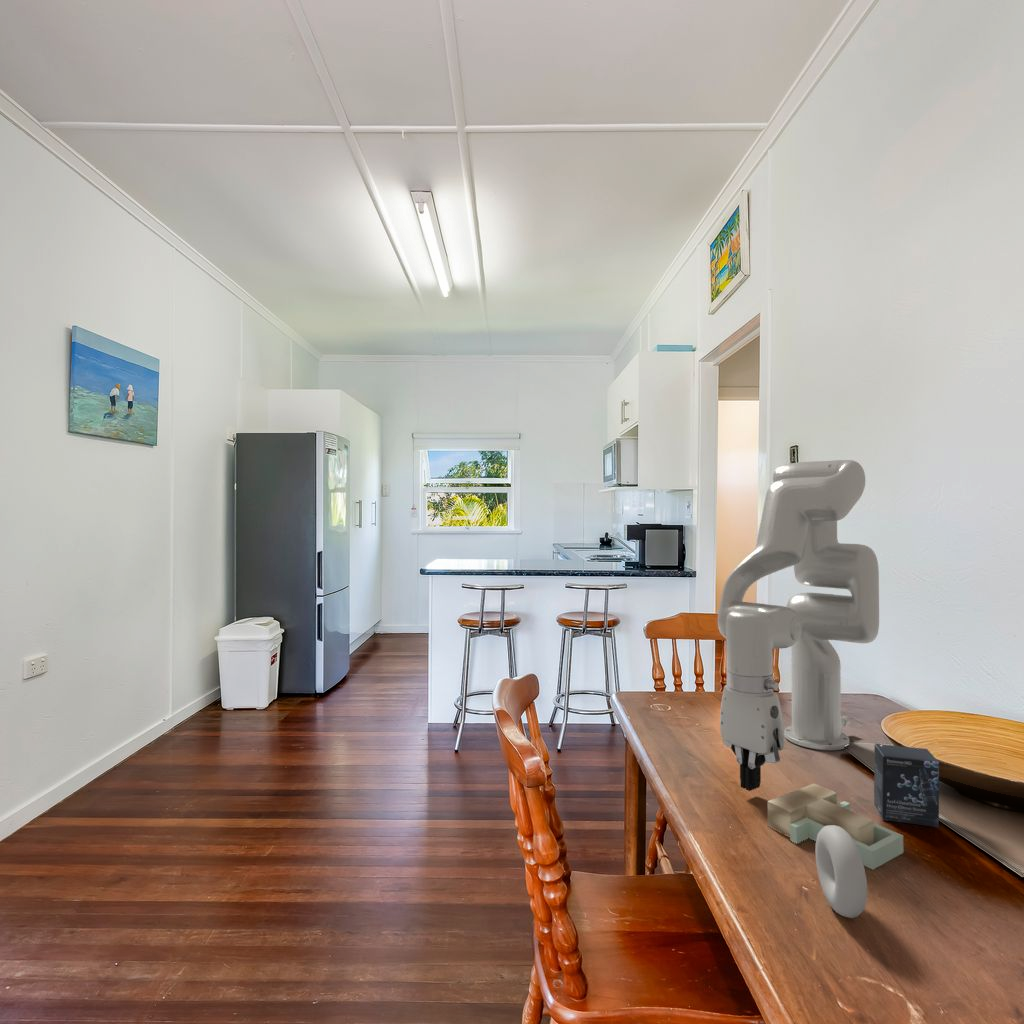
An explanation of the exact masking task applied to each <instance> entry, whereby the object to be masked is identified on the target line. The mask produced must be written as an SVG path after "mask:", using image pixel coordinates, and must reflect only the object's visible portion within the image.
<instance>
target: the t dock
mask: <svg viewBox="0 0 1024 1024" xmlns="http://www.w3.org/2000/svg"><path fill="white" fill-rule="evenodd" d="M836 805H838V806H840V807H843V808H845V809H847V810H850V811H851V803H850V802H847V801H845V800H844V801H840V802H839V803H838V802H837V804H836ZM823 827H825V826H824V825H822V824H820V823H817V822H815V821H813V820H811V819H809V818H807V817H806V818H804V819H802V820H799V821H797V822H795V823H793V824H790V839H789V840H791V841H792V842H791V841H790V842H791V843H793V842H794V843H793V844H795V843H796V844H795V845H798V844H800V843H802V842H804V841H807V840H811V839H812V840H811V841H813V840H814V841H813V842H815V841H816V840H817V835H818V833H819V832H820V830H821V829H822V828H823ZM808 838H810V839H808ZM806 839H807V840H806ZM803 840H804V841H803ZM853 840H854V842H855V844H856V846H857V848H858V850H859V853H860V855H861V858H862V861H863V865H864V867H866V868H868V869H870V870H875V869H877V868H879V867H880V866H882V865H884V864H886V863H887V862H890V861H892V860H893V859H895V858H897V857H899V856H900V855H902V854H904V835H903V834H900V833H898V832H896V831H894V830H891V829H889V828H886V827H884V826H881V825H880V824H877V823H875V822H874V844H873V845H871V846H868V845H865V844H863V843H861V842H859V841H857V840H855V839H853ZM801 841H802V842H801ZM797 843H798V844H797Z"/></svg>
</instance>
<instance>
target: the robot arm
mask: <svg viewBox="0 0 1024 1024" xmlns="http://www.w3.org/2000/svg"><path fill="white" fill-rule="evenodd" d="M865 486H866V474H865V470H864V468H863V466H862V465H861V464H860V463H859V462H858V461H855V460H850V459H837V460H836V459H835V460H821V461H820V460H818V461H817V460H816V461H799V462H791V463H786V464H782V465H780V466H778V467H777V468H776V469H775V470H774V471H773V474H772V483H771V484H770V485H769V486H768V488H767V491H766V493H765V499H764V502H763V503H764V504H763V508H762V514H761V519H760V525H759V528H758V534H757V539H756V545H755V548H754V550H753V551H752V552H750V553H749V554H748V555H747V556H746V557H744V558H743V559H742V560H741V561H740V562H739V563H738V564H737V565H736V566H735V567H734V569H733V570H732V571H731V572H730V573H729V575H728V576H727V578H726V580H725V582H724V585H723V588H722V591H721V596H720V600H719V606H718V611H717V627H718V630H719V633H720V634H721V636H722V637H724V638H725V639H726V641H725V642H726V648H725V650H726V651H725V653H726V657H725V658H726V684H725V685H724V687H723V691H722V697H721V703H720V710H719V711H720V712H719V713H720V715H719V730H720V731H719V732H720V736H721V738H722V744H723V745H724V746H726V747H727V748H729V749H730V750H732V752H733V754H734V755H735V758H736V763H737V764H739V778H740V788H741V789H745V790H747V791H748V792H750V791H754V790H756V789H758V788H760V786H761V782H762V781H761V780H762V779H761V776H762V775H761V774H762V773H761V767H762V766H764V764H777V763H780V762H781V758H780V757H781V756H780V753H779V751H782V750H784V748H785V738H786V739H787V741H789V742H791V743H792V744H795V745H798V746H800V747H804V748H808V749H812V750H820V751H839V750H844V749H845V748H844V747H845V745H847V744H849V745H850V738H849V736H848V735H846V734H845V733H843V732H842V731H843V730H842V729H843V728H844V727H845V726H849V725H850V724H851V719H850V718H849V716H847V715H843V716H842V715H841V714H842V707H841V706H842V705H841V702H842V699H841V697H842V695H841V694H842V693H841V692H842V691H841V689H842V687H841V686H842V685H841V681H842V680H841V678H842V677H841V659H840V656H839V654H838V652H837V650H836V649H835V647H834V646H833V645H832V644H831V642H830V641H839V642H846V643H854V644H855V643H856V644H870V643H872V642H873V641H875V640H876V638H877V636H878V634H879V628H880V574H879V573H880V572H879V571H880V570H879V569H880V568H879V562H878V557H877V555H876V553H875V551H874V550H873V549H872V548H871V547H869V546H868V545H866V544H860V543H840V542H839V541H838V521H841V520H842V519H843V520H844V518H845V517H847V516H848V514H849V513H850V512H851V511H852V509H853V508H854V507H855V506H856V504H857V503H858V501H859V500H860V499H861V497H862V495H863V493H864V491H865V488H866V487H865ZM791 567H793V570H794V571H793V572H794V577H795V579H796V581H797V582H798V583H799V584H801V585H804V586H809V587H813V588H815V587H816V588H827V589H828V588H829V589H837V590H838V589H839V590H840V589H841V590H848V591H849V592H850V594H851V595H841V594H833V593H821V592H800V593H797V594H795V595H792V597H790V598H789V599H788V601H787V604H786V605H785V606H783V605H777V604H768V603H767V604H766V603H759V602H758V603H757V602H751V601H750V602H749V601H743V600H744V598H745V595H746V593H747V591H748V590H749V588H750V587H752V585H753V584H755V583H756V582H758V581H759V580H760V579H762V578H764V577H766V576H769V575H771V574H773V573H774V574H775V573H776V572H779V571H782V570H785V569H788V568H791ZM786 648H790V652H791V653H790V656H791V657H790V661H791V664H790V665H791V667H790V668H791V669H790V670H791V671H790V672H791V674H790V675H791V676H790V677H791V679H790V681H791V686H790V687H791V725H788V726H786V727H785V728H784V721H783V712H782V707H781V702H780V698H779V694H778V693H777V692H775V691H777V690H778V689H779V682H777V681H775V680H774V670H773V669H774V667H773V665H774V664H773V663H774V662H773V660H774V659H773V655H774V654H773V653H774V651H773V650H777V649H786Z"/></svg>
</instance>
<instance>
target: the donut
mask: <svg viewBox="0 0 1024 1024" xmlns="http://www.w3.org/2000/svg"><path fill="white" fill-rule="evenodd" d="M814 848H815V852H814V853H815V864H816V870H817V874H818V879H819V882H820V885H821V888H822V892H823V894H824V896H825V899H826V901H827V903H828V904H829V905H830V906H831V908H832V909H833V910H834V911H835V913H837V914H838V915H840V916H842V917H845V918H848V919H853V918H854V919H855V918H857V917H859V915H860V916H861V914H862V913H863V912H864V910H865V909H866V904H867V901H868V884H867V883H868V882H867V876H866V874H867V873H866V871H865V870H866V869H865V866H864V865H863V861H862V858H861V855H860V853H859V850H858V848H857V846H856V844H855V842H854V840H853V839H852V837H851V836H850V835H849V834H848V833H847V832H846V831H845V830H844V829H843V828H841V827H839V826H835V825H828V826H825V827H823V828H822V829H821V830H820V832H819V833H818V835H817V840H816V842H815V847H814Z"/></svg>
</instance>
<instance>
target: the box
mask: <svg viewBox="0 0 1024 1024" xmlns="http://www.w3.org/2000/svg"><path fill="white" fill-rule="evenodd" d="M873 750H874V761H873V762H874V765H873V766H874V768H873V769H874V770H873V771H874V775H873V776H874V777H873V778H874V779H873V781H874V782H873V784H874V785H873V789H874V790H873V791H874V793H873V797H874V798H873V803H874V804H873V805H874V806H875V809H876V811H877V813H878V814H879V815H880V817H881V819H882V821H884V822H885V821H888V822H897V823H906V824H913V825H920V826H927V827H932V828H939V827H940V825H939V824H940V823H939V822H940V813H939V812H940V798H939V797H940V762H939V760H938V759H937V758H936V757H935V756H934V755H933V754H932V753H931V751H929V749H927V748H923V747H921V748H920V747H911V746H910V747H909V746H902V745H901V746H900V745H888V744H881V743H874V749H873Z"/></svg>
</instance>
